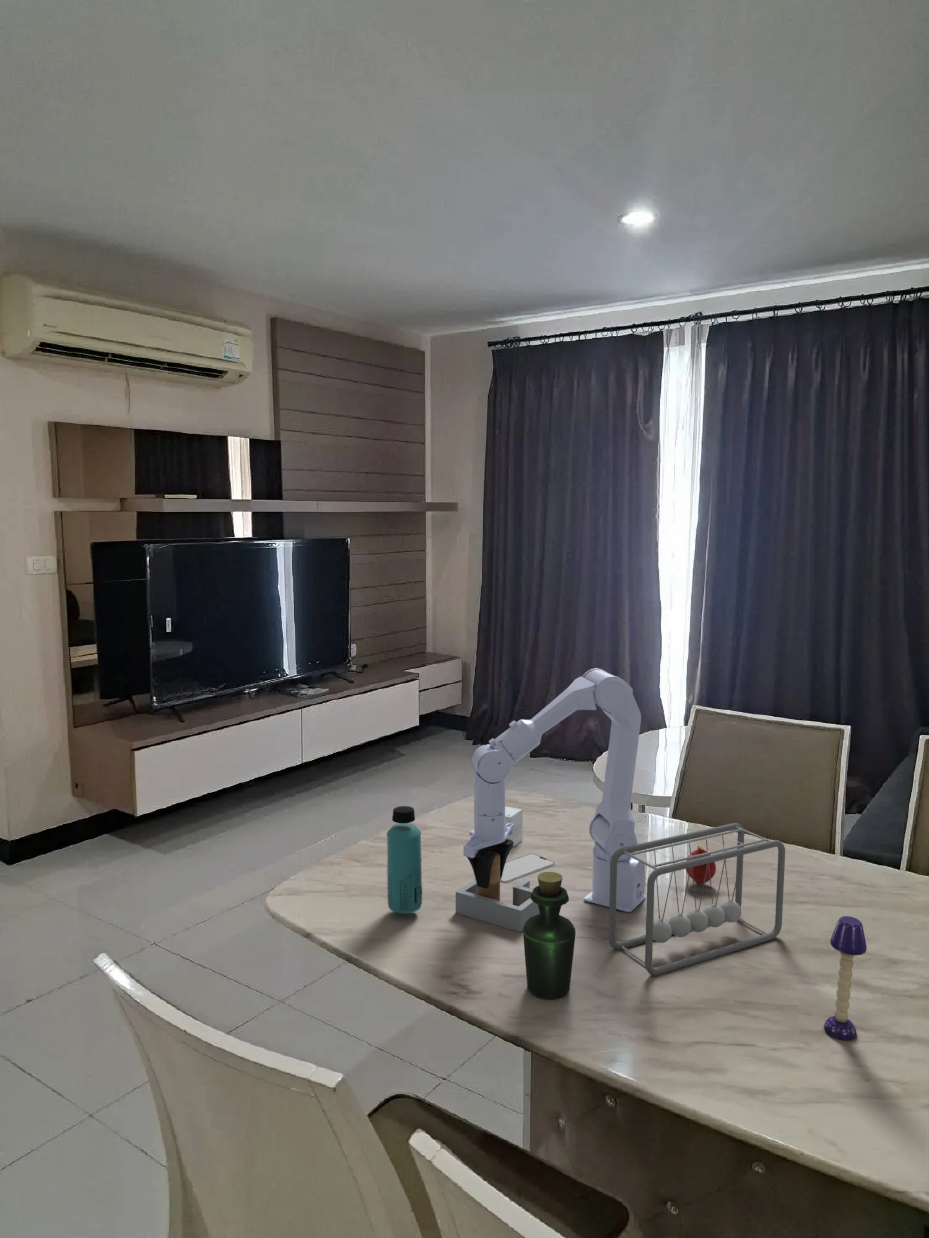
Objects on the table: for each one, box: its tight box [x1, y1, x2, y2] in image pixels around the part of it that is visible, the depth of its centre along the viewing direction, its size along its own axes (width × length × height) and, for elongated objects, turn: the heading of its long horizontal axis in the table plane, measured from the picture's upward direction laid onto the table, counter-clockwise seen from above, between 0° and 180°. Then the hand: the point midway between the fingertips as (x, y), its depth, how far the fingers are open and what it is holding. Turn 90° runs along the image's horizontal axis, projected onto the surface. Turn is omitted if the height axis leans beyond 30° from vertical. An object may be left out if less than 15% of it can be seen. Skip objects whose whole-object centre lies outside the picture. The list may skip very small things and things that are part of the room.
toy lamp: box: [823, 915, 868, 1041], centre depth 120 cm, size 5×5×17 cm
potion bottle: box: [522, 871, 576, 1000], centre depth 131 cm, size 8×8×18 cm
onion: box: [685, 845, 717, 886], centre depth 170 cm, size 6×6×8 cm
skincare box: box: [505, 805, 524, 847], centre depth 193 cm, size 6×6×7 cm
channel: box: [455, 878, 540, 933], centre depth 159 cm, size 14×12×4 cm
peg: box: [478, 851, 501, 901], centre depth 158 cm, size 4×4×9 cm
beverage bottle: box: [386, 805, 424, 914], centre depth 156 cm, size 6×7×20 cm
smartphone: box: [500, 853, 556, 884], centre depth 178 cm, size 7×1×15 cm
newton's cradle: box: [608, 822, 786, 977], centre depth 146 cm, size 30×10×18 cm, turn 118°
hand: (489, 882), depth 159 cm, fingers closed on peg, 4 cm apart
